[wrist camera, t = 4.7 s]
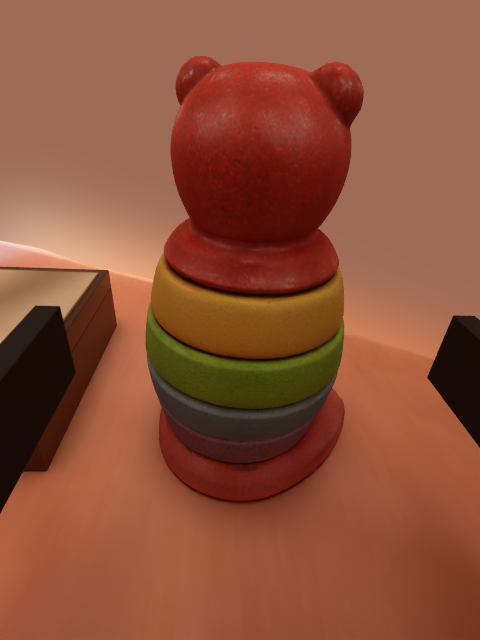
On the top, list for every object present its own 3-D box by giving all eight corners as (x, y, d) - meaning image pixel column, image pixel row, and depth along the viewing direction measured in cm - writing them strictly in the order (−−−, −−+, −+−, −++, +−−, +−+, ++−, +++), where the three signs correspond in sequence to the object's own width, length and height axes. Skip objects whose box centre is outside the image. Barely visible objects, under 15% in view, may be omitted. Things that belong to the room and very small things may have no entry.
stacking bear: (349, 405, 23) (445, 75, 14) (299, 553, 15) (442, 24, 6) (207, 354, 27) (208, 70, 18) (109, 451, 19) (22, 34, 10)
